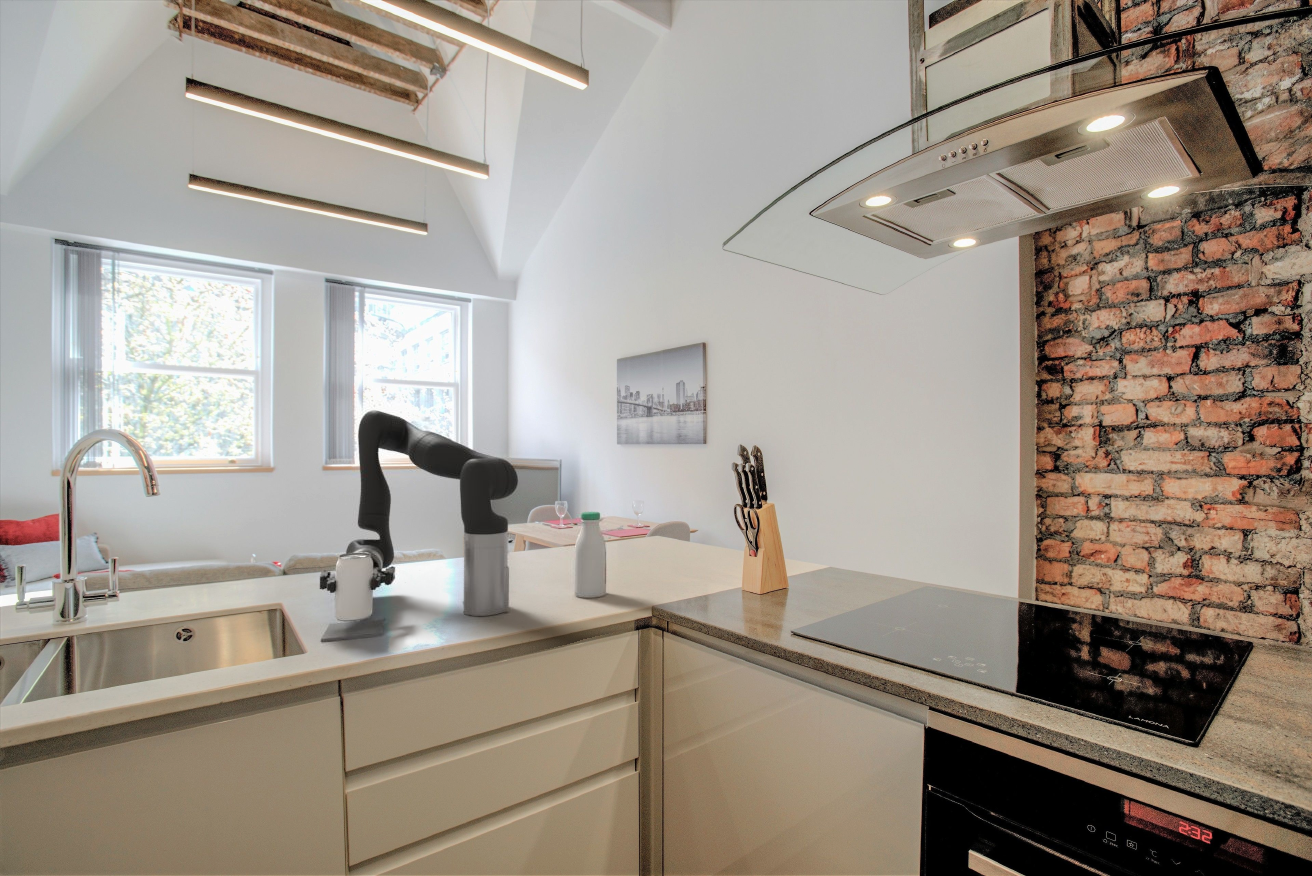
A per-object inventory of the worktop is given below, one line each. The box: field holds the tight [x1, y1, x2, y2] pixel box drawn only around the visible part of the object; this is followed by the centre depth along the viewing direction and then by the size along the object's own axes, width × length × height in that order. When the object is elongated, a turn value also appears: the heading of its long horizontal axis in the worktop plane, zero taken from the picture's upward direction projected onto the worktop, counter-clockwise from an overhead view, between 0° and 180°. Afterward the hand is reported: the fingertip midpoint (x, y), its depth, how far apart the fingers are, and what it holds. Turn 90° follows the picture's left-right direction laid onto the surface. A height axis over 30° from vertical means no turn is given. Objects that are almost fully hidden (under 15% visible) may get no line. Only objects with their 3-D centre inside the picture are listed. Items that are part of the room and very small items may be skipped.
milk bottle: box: [573, 511, 607, 599], centre depth 144 cm, size 8×8×20 cm
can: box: [334, 553, 374, 622], centre depth 115 cm, size 6×6×12 cm
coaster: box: [320, 618, 386, 643], centre depth 115 cm, size 10×10×1 cm
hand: (353, 586), depth 113 cm, fingers closed on can, 6 cm apart
